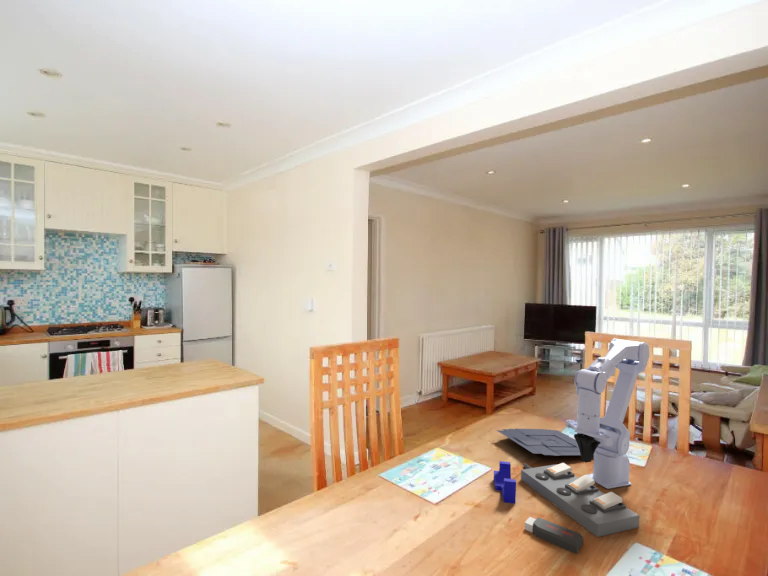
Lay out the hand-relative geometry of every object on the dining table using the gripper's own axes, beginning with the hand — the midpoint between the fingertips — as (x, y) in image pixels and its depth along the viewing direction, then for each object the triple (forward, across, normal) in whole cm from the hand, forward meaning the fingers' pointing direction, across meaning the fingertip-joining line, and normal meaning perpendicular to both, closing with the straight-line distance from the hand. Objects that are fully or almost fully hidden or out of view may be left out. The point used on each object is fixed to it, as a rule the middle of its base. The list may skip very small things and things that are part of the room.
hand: (586, 461), depth 115 cm
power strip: (+9, -2, -6) cm, 11 cm away
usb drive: (+10, +13, -22) cm, 28 cm away
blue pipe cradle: (+10, -8, -21) cm, 25 cm away
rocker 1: (+5, -7, -3) cm, 9 cm away
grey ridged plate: (+10, -29, +12) cm, 33 cm away
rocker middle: (+5, +2, -3) cm, 6 cm away
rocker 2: (+5, +10, -3) cm, 12 cm away
